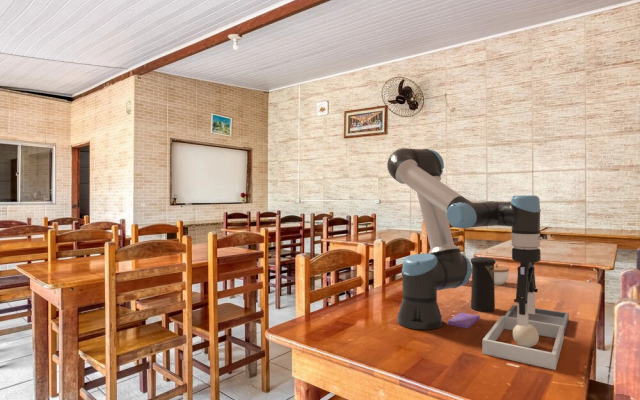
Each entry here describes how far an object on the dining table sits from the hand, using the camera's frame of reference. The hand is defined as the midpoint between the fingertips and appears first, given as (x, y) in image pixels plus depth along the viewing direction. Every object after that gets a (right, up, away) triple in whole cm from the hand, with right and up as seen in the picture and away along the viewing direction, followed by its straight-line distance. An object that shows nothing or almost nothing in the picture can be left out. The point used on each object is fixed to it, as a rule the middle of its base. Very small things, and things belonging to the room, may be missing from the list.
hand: (526, 319), depth 119 cm
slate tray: (+14, -7, +21) cm, 27 cm away
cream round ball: (0, -8, +1) cm, 8 cm away
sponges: (-10, -8, +23) cm, 26 cm away
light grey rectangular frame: (0, -8, +1) cm, 8 cm away
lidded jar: (+25, -6, +77) cm, 81 cm away
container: (+2, -7, +37) cm, 38 cm away
